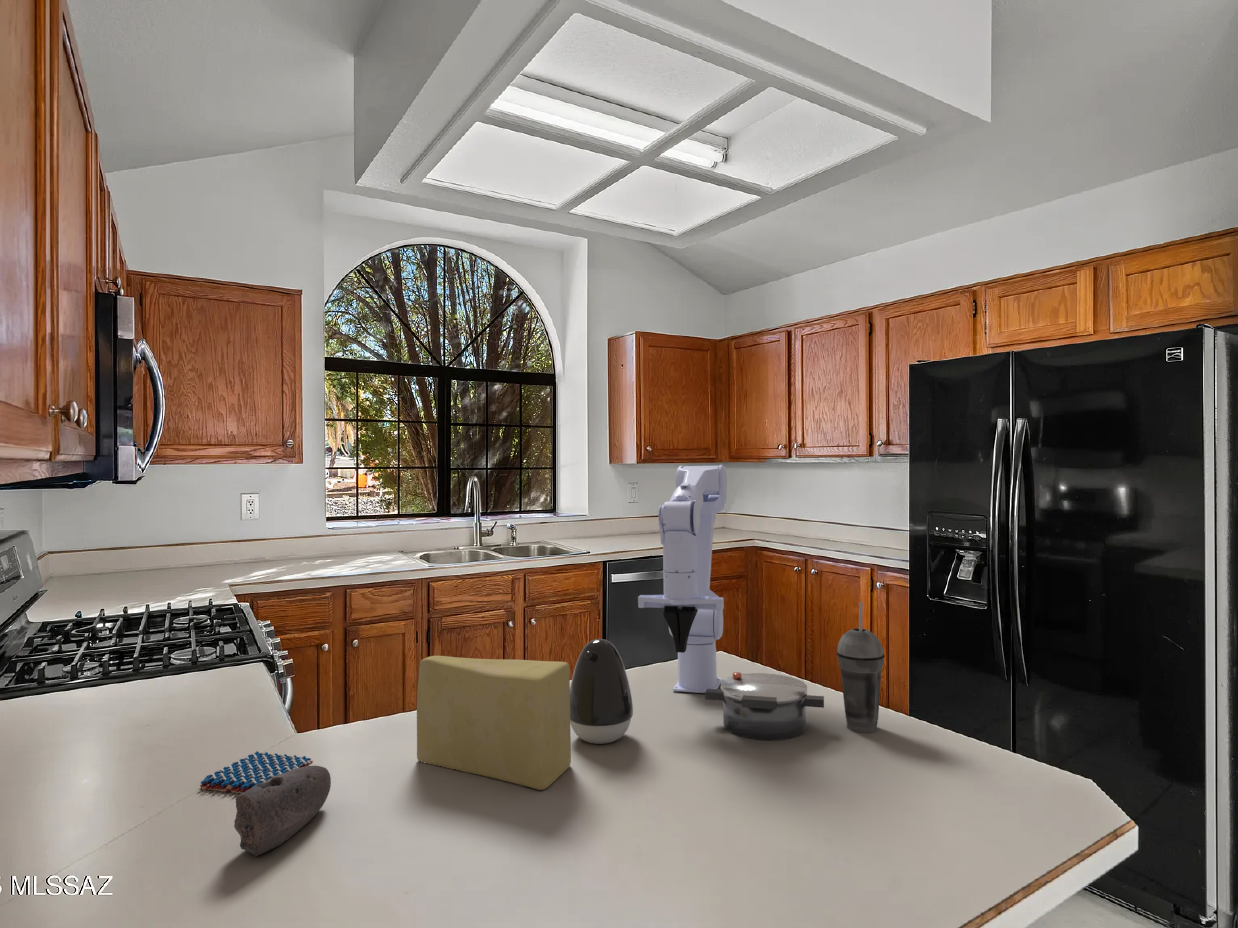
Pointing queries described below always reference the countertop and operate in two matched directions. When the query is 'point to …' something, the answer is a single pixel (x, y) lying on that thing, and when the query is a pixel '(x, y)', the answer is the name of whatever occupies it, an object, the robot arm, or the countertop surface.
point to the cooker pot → (765, 717)
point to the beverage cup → (861, 677)
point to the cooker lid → (763, 689)
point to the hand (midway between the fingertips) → (681, 651)
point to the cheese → (495, 718)
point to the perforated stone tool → (280, 807)
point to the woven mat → (252, 771)
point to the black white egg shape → (600, 694)
